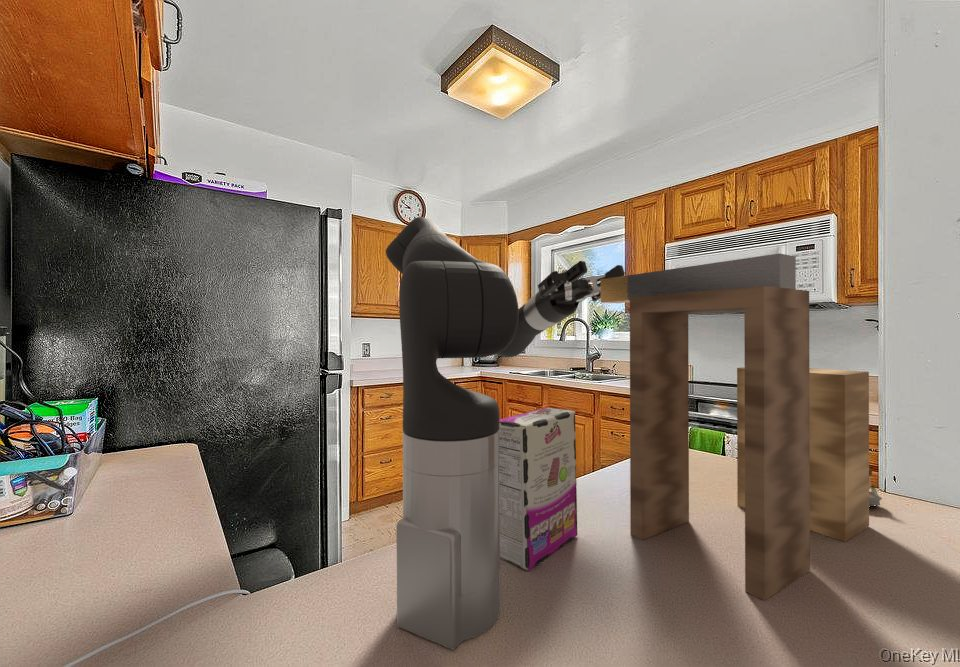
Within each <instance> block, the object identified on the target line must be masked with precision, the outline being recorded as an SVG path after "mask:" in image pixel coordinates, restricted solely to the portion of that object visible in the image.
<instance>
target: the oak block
mask: <svg viewBox="0 0 960 667" xmlns="http://www.w3.org/2000/svg"><path fill="white" fill-rule="evenodd" d="M869 378H870V372H869V371H862V370H861V371H860V370H843V369H831V368H830V369H828V368H813V367H812V368H810V367H809V389H810V532H811V531H812V532H815V533H817V534H820V535H823V536H827V537H829V538H832V539H835V540H838V541H841V542H844V543H847V542H848V541H849V540H851V539H852V538H854V537H855V536H857V535H859V534H860V533H862V532H863V531H864V529H865V528H866V527H868V526H869V527H870V508H869V492H870V489H869V469H870V379H869ZM736 397H737V398H736V402H737V403H736V411H737V412H736V416H737V417H736V418H737V419H736V422H737V424H736V425H737V426H736V428H737V430H736V431H737V432H736V435H737V436H736V437H737V441H736V442H737V443H736V444H737V445H736V446H737V448H736V449H737V451H736V452H737V456H736V458H737V460H736V461H737V468H736V474H737V476H736V477H737V478H736V479H737V482H736V483H737V484H736V486H737V488H736V489H737V497H736V498H737V501H736V502H737V503H736V504H737V507H740V508H743V509H745V366H743V367H736ZM869 527H868V528H869ZM866 529H867V528H866ZM866 529H865V530H866Z"/></svg>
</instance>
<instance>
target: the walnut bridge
mask: <svg viewBox="0 0 960 667" xmlns="http://www.w3.org/2000/svg"><path fill="white" fill-rule="evenodd" d="M718 313H719V314H723V313H744V318H743V319H744V322H743V323H744V324H743V325H744V329H743V330H744V367H745V508H744V591H745V592H747V594H751V595H752V596H755V597H756V598H759V599H760V600H763V601H766V600H767V599H770V598H771V597H773V596H774V595H775V594H777V593H778V592H780V591H781V590H783V589H784V588H786V587H788V586H789V585H790V584H792V583H793V582H795V581H796V580H798V579H799V578H800V577H802V576H804V575H805V574H807V573H809V572H810V571H811V530H810V389H809V368H810V290H808V289H807V290H806V289H797V288H796V289H788V288H779V287H769V286H757V287H746V288H734V289H723V290H712V291H701V292H689V293H678V294H667V295H655V296H644V297H633V298H630V302H629V433H630V434H629V437H630V438H629V439H630V440H629V446H630V447H629V448H630V450H629V452H630V453H629V459H630V460H629V463H630V464H629V470H630V471H629V472H630V478H629V480H630V482H629V483H630V484H629V485H630V486H629V489H630V494H629V495H630V496H629V499H630V506H629V507H630V511H629V512H630V516H629V517H630V521H629V522H630V523H629V524H630V527H629V528H630V535H631V536H633V537H636V538H638V539H639V540H640V541H641V540H642V541H643V540H646V539H649V538H651V537H653V536H657V535H659V534H661V533H663V532H666V531H668V530H671V529H673V528H677V527H678V526H681V525H684V524H686V523H689V522H690V472H689V471H690V462H689V460H690V452H689V451H690V449H689V447H690V444H689V443H690V436H689V435H690V427H689V426H690V425H689V424H690V422H689V421H690V419H689V416H690V415H689V412H690V410H689V406H690V405H689V404H690V403H689V400H690V398H689V388H690V387H689V384H690V383H689V375H690V374H689V369H690V368H689V366H690V365H689V315H695V314H696V315H697V314H718Z"/></svg>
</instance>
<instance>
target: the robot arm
mask: <svg viewBox="0 0 960 667" xmlns="http://www.w3.org/2000/svg"><path fill="white" fill-rule="evenodd" d="M385 255H386V257H387V259H388V261H389V262H390V264H391V266H393V267H394V268H395V269H396V270H397V271H398V272H399V273H400V274H401V278H400V284H399V296H398V297H399V298H398V307H399V308H398V309H399V310H398V311H399V327H400V328H399V329H400V340H401V344H400V345H401V358H402V390H403V392H402V394H403V395H402V406H403V407H402V518H401V519H399V520H398V521H397V522H396V626H397V627H398V628H401V629H402V630H405V631H408V632H410V633H412V634H414V635H417V636H419V637H422V638H424V639H426V640H429V641H431V642H434V643H436V644H439V645H441V646H443V647H445V648H447V649H449V650H455V649H456V648H458V646H459V645H460V644H461V643H462V642H464V641H466V640H470V639H473V638H475V637H477V636H479V635H482V634H484V633H485V632H487V631H488V630H489V629H490V628H491V627H493V625H494V624H495V623H496V622H497V620H498V618H499V615H500V613H501V563H500V562H501V558H500V495H499V460H500V458H499V420H500V407H499V405H498V402H497V401H496V400H495V399H494V398H493V397H491V396H489V395H486V394H484V393H481V392H478V391H473V390H471V389H468V388H464V387H462V386H460V385H458V384H456V383H453V382H452V381H451V380H449V379H448V378H446V377H445V376H444V375H443V374H442V373H441V372H440V371H439V369H438V366H437V364H438V363H437V360H438V359H473V358H474V359H477V358H478V359H479V358H480V359H481V358H482V359H483V358H487V357H490V356H496V355H499V356H500V357H503V358H513V357H517V356H519V355H521V353H523V352H524V351H525V350H527V348H528V346H530V344H531V343H532V342H533V340H534V339H535V338H536V336H537V335H539V334H542V333H543V332H544V331H546V330H547V329H550V328H553V327H554V326H556V325H557V324H558V323H560V322H562V321H563V320H565V319H567V318H569V317H570V316H572V315H573V314H574V313H575V312H576V311H577V309H578V306H579V304H580V302H582V301H585V300H587V298H591V301H592V302H596V301H598V300H601V283H600V279H606V278H613V277H620V276H625V270H624V267H623V265H622V264H621V265H620V264H617V265H615V266H613V267H612V268H611V269H610V270H608V271H606V272H605V273H604V274H602V275H600V276H595V275H591V276H589V277H585V278H582V279H580V278H581V277H583V276H584V275H586V274H587V272H588V268H587V264H586V261H584V260H579V261H578V262H577V263H576V264H573V266H571V267H570V268H569V269H564V270H562V271H561V272H560V273H559V271H558V270H554V271H552V272H551V273H550V274H548V275H547V276H546V277H544V279H543V280H542V281H541V282H540V283H538V284H537V289H538V292H536V293H535V294H534V295H533V296H531V297H530V299H528V301H527V302H526V303H524V304H523V305H522V306H521V307H519V302H518V298H517V294H516V291H515V288H514V285H513V283H512V281H511V280H510V278H509V276H508V275H507V273H506V272H505V270H503V269H502V268H501V267H500V266H499V265H497V264H493V263H490V262H486V261H484V260H481V259H478V258H476V257H474V256H473V255H472V254H471V253H469V252H468V251H466V250H465V249H464V248H462V246H461V245H460V244H458V243H457V242H456V241H455V240H453V239H452V238H450V237H448V236H447V235H446V233H445V232H444V230H443V229H442V228H441V227H440V226H438V224H436V223H435V222H434V221H432V220H430V219H428V218H427V217H423V216H422V217H421V216H419V217H418V216H417V217H415V218H413V219H412V220H410V221H409V223H408V224H406V225H405V227H404V228H403V229H402V230H401V231H400V232H399V233H398V234H397V236H396V237H394V239H392V241H391V242H390V243H389V245H388V246H387V247H386V249H385ZM598 282H599V283H598ZM590 283H592V286H591V287H590Z"/></svg>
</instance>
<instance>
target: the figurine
mask: <svg viewBox="0 0 960 667" xmlns="http://www.w3.org/2000/svg"><path fill="white" fill-rule="evenodd" d="M872 477H873V470H872V469H871V468H869V490H870V491H869V506H874V505H878V506H881V500H882V499H883V498H882V497H881V496H880V495H879V494H878V490H877V488H876V487H875V485H874V484H872V482H871V479H872Z"/></svg>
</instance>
